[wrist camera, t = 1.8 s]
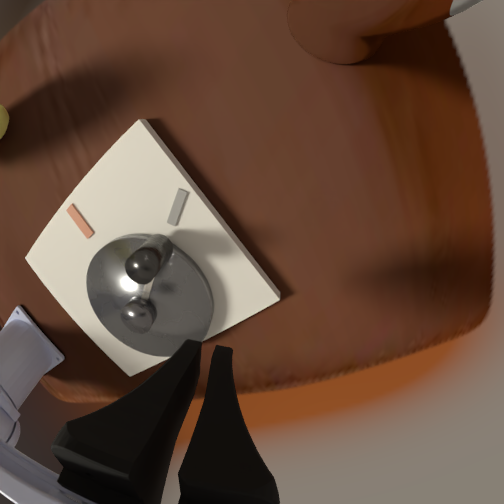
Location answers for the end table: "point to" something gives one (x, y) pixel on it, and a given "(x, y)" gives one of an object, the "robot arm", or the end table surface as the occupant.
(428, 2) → the beer glass
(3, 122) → the emoji
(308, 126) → the end table surface
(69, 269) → the base plate
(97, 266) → the cam dial
